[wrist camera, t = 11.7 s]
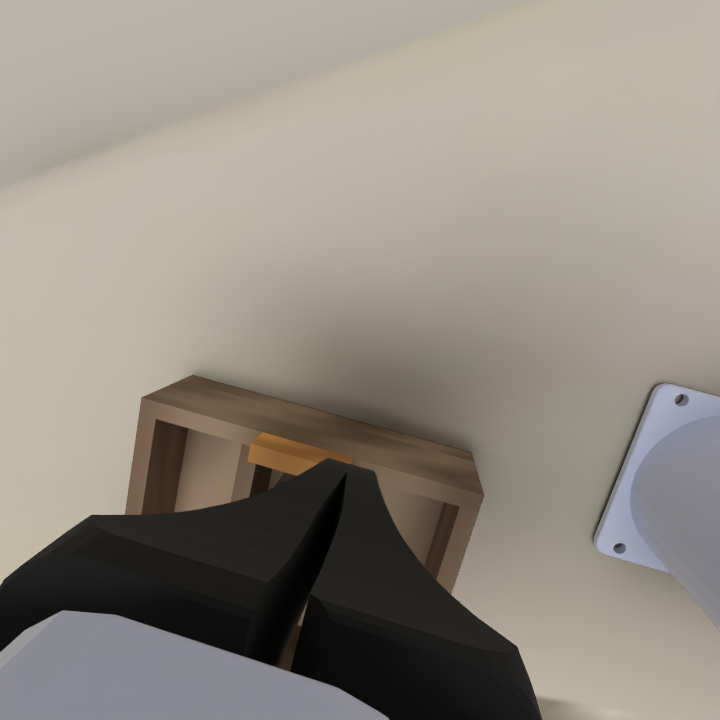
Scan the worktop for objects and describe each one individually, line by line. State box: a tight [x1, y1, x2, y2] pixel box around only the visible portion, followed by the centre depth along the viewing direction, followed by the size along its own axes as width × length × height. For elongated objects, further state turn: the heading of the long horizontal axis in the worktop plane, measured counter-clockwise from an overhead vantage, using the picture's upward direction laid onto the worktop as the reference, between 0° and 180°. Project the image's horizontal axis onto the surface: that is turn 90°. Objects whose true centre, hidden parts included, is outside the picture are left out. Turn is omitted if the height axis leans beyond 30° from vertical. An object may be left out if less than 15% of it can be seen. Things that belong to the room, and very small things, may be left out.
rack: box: [125, 375, 484, 672], centre depth 20 cm, size 14×11×5 cm
